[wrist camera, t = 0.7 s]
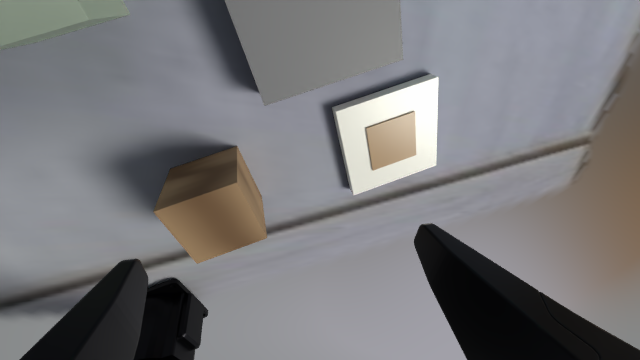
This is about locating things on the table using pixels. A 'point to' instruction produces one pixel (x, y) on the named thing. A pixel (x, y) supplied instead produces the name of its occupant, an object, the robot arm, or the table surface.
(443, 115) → the table surface
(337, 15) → the charcoal base block
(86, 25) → the sage cube
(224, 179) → the walnut cube
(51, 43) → the table surface
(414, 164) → the tile
